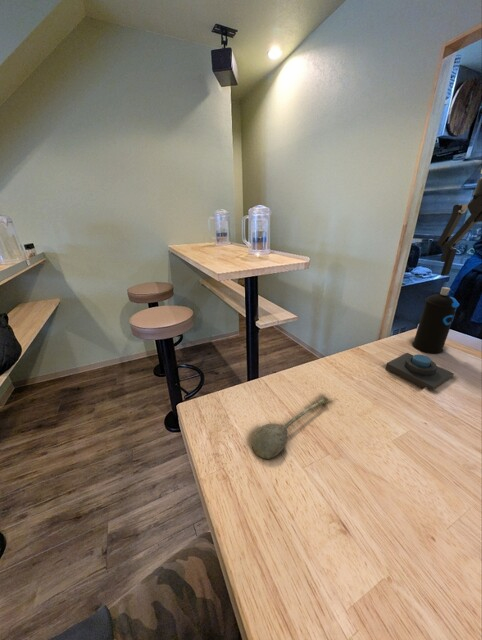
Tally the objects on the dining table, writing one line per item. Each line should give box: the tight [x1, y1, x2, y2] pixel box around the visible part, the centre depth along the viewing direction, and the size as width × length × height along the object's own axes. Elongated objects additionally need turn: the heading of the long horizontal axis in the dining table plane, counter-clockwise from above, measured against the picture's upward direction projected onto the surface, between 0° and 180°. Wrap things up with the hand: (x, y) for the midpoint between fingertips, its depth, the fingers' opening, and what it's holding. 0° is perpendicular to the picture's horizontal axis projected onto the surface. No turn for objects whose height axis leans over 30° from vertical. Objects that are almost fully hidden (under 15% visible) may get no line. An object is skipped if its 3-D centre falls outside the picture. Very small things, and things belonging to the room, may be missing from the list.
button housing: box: [384, 352, 455, 392], centre depth 68 cm, size 12×10×4 cm
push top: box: [412, 353, 432, 368], centre depth 67 cm, size 4×4×2 cm
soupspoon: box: [251, 396, 330, 460], centre depth 54 cm, size 22×3×7 cm
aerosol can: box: [411, 286, 460, 355], centre depth 77 cm, size 8×8×20 cm
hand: (466, 278), depth 63 cm, fingers open, 9 cm apart
